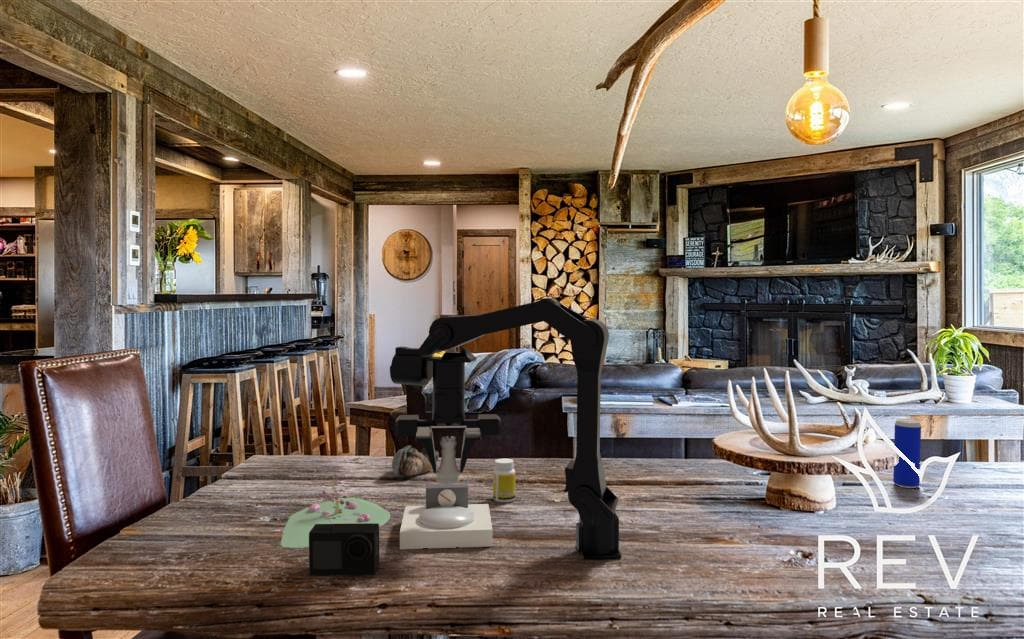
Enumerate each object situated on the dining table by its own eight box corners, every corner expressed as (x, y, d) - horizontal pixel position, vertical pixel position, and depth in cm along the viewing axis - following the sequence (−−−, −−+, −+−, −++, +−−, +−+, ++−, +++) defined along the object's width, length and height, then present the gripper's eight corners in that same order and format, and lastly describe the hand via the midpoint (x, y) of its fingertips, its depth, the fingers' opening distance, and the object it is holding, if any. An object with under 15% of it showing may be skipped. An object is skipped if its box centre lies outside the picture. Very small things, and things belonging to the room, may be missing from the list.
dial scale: (488, 519, 132) (488, 483, 132) (492, 546, 118) (492, 506, 118) (405, 521, 131) (405, 485, 130) (399, 549, 117) (399, 509, 116)
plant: (365, 553, 116) (365, 501, 116) (249, 550, 118) (248, 499, 118) (400, 506, 141) (400, 464, 141) (304, 504, 143) (303, 462, 142)
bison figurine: (390, 482, 158) (432, 480, 158) (388, 452, 158) (431, 450, 158) (400, 469, 170) (440, 467, 170) (399, 441, 170) (438, 439, 170)
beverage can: (919, 485, 155) (921, 420, 154) (919, 490, 151) (920, 423, 150) (893, 481, 158) (895, 417, 157) (892, 487, 153) (894, 421, 153)
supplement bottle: (520, 499, 144) (520, 460, 144) (504, 504, 141) (504, 464, 141) (503, 494, 148) (503, 456, 147) (488, 499, 144) (488, 460, 144)
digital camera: (306, 579, 105) (305, 535, 105) (315, 565, 110) (314, 523, 110) (373, 578, 105) (373, 534, 105) (379, 564, 111) (379, 522, 110)
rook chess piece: (447, 476, 125) (448, 433, 125) (465, 481, 122) (466, 437, 122) (430, 481, 122) (430, 437, 121) (448, 486, 119) (448, 441, 118)
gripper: (497, 380, 130) (496, 460, 131) (399, 380, 128) (398, 461, 129) (502, 388, 119) (501, 476, 120) (394, 389, 117) (394, 478, 118)
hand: (448, 472), depth 122 cm, fingers closed on rook chess piece, 4 cm apart
